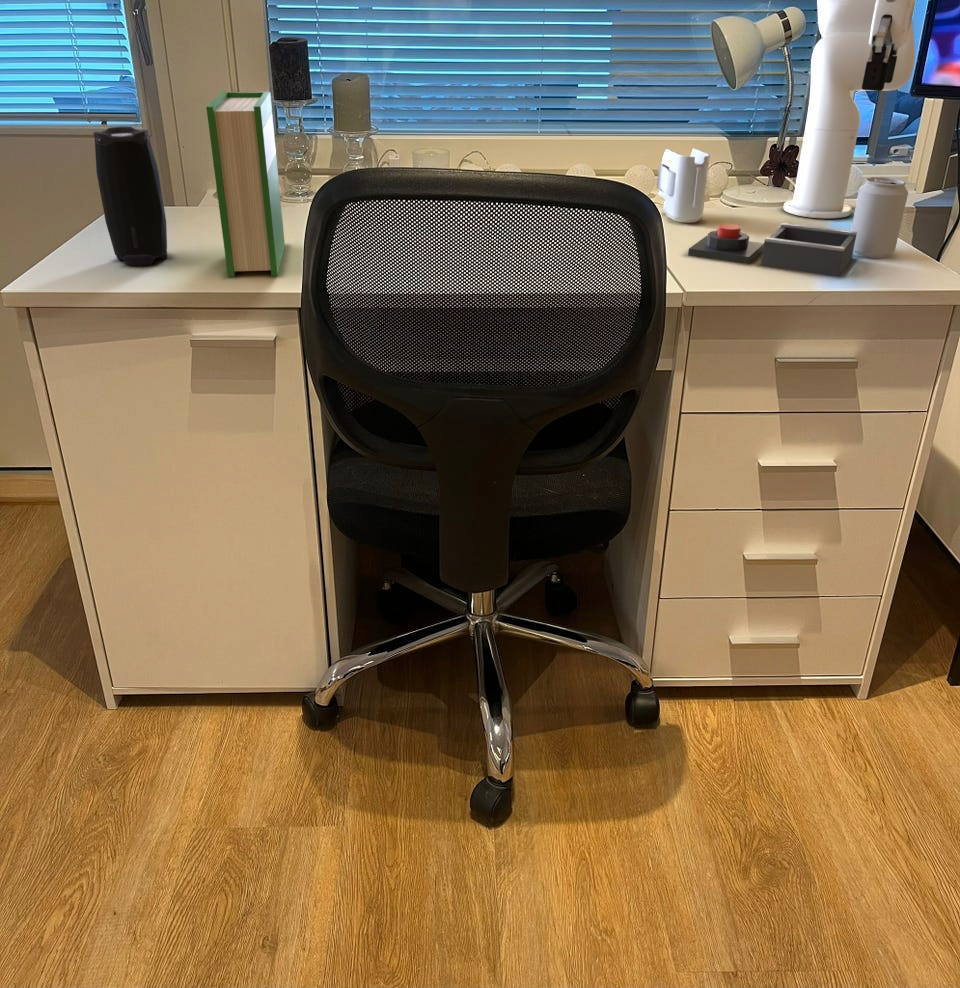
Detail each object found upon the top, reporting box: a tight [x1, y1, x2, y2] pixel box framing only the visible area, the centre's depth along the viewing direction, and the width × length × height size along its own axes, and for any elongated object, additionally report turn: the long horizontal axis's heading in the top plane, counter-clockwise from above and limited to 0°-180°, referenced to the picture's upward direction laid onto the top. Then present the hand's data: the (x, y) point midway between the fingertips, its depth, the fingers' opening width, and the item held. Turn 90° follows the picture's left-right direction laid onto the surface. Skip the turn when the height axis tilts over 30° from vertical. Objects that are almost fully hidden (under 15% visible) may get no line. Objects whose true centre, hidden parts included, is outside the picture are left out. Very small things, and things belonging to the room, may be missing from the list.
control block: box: [687, 229, 764, 265], centre depth 155 cm, size 10×10×3 cm
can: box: [850, 176, 909, 259], centre depth 153 cm, size 8×8×12 cm
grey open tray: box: [760, 222, 857, 278], centre depth 150 cm, size 12×12×4 cm
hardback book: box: [205, 91, 286, 278], centre depth 144 cm, size 18×7×24 cm, turn 7°
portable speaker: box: [93, 125, 168, 267], centre depth 144 cm, size 9×9×20 cm
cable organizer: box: [656, 147, 711, 224], centre depth 174 cm, size 7×12×12 cm, turn 12°
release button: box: [717, 223, 742, 238], centre depth 154 cm, size 4×4×2 cm
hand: (876, 86), depth 149 cm, fingers open, 9 cm apart
